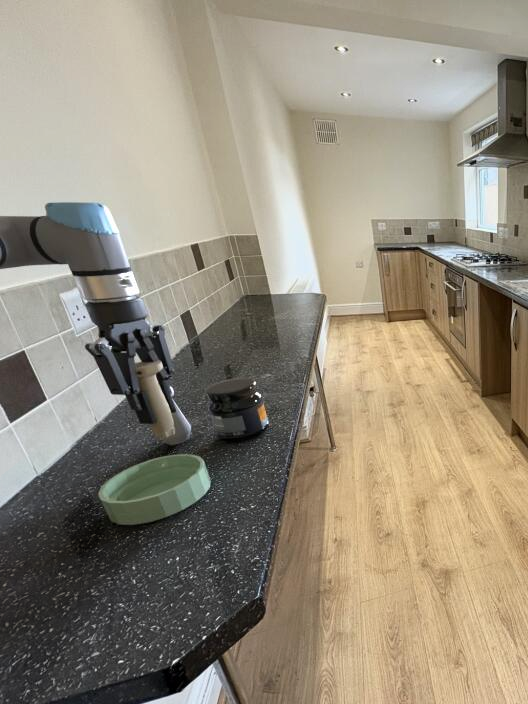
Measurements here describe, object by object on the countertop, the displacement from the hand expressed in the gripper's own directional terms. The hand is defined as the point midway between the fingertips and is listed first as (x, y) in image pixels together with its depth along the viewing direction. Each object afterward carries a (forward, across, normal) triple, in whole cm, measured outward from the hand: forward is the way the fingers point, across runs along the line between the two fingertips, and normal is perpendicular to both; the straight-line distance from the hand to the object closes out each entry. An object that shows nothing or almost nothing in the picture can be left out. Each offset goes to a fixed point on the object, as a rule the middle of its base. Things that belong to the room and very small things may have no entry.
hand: (158, 417), depth 81 cm
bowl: (+10, -12, -8) cm, 18 cm away
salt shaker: (+10, +8, +6) cm, 14 cm away
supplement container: (+10, +12, -7) cm, 17 cm away
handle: (+4, 0, 0) cm, 4 cm away
